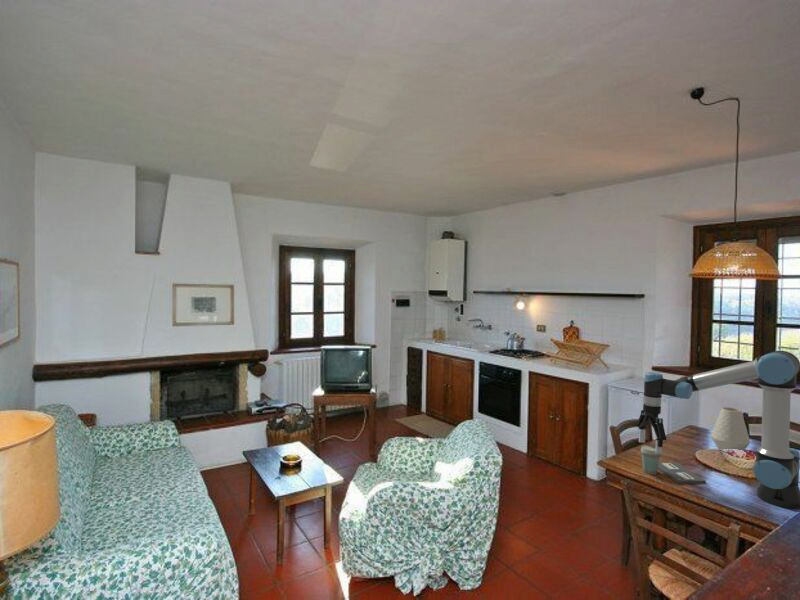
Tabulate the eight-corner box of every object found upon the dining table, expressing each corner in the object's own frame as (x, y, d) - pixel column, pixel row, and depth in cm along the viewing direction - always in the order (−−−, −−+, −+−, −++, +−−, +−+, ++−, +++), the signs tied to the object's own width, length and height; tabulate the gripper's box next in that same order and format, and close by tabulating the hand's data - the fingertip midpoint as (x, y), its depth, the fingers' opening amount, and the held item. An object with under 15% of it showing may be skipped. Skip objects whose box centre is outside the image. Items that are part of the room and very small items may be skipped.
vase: (747, 459, 233) (749, 416, 232) (707, 450, 245) (709, 409, 244) (751, 450, 246) (753, 409, 245) (713, 442, 258) (715, 403, 257)
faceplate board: (705, 483, 205) (705, 479, 205) (678, 483, 205) (678, 480, 205) (677, 465, 225) (677, 462, 225) (652, 465, 225) (652, 462, 224)
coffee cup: (662, 476, 211) (663, 452, 211) (643, 475, 213) (644, 450, 213) (656, 469, 220) (657, 445, 219) (637, 467, 221) (638, 444, 221)
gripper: (676, 412, 203) (674, 457, 204) (644, 397, 227) (642, 438, 229) (660, 412, 202) (658, 457, 203) (630, 397, 227) (628, 437, 228)
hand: (649, 447), depth 216 cm, fingers open, 13 cm apart
